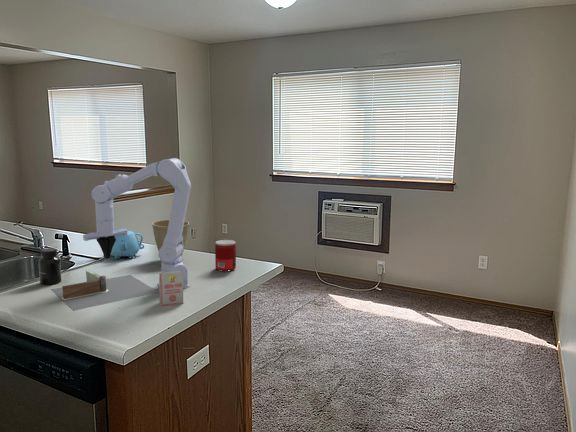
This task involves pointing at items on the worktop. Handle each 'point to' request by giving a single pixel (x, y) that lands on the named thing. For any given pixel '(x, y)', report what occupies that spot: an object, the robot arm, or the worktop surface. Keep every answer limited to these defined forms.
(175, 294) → the pink white carton
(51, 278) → the supplement bottle
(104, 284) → the walnut fence section
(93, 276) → the sage fence panel
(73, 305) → the card
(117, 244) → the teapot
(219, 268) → the canned food
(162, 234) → the plant pot
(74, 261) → the worktop surface
